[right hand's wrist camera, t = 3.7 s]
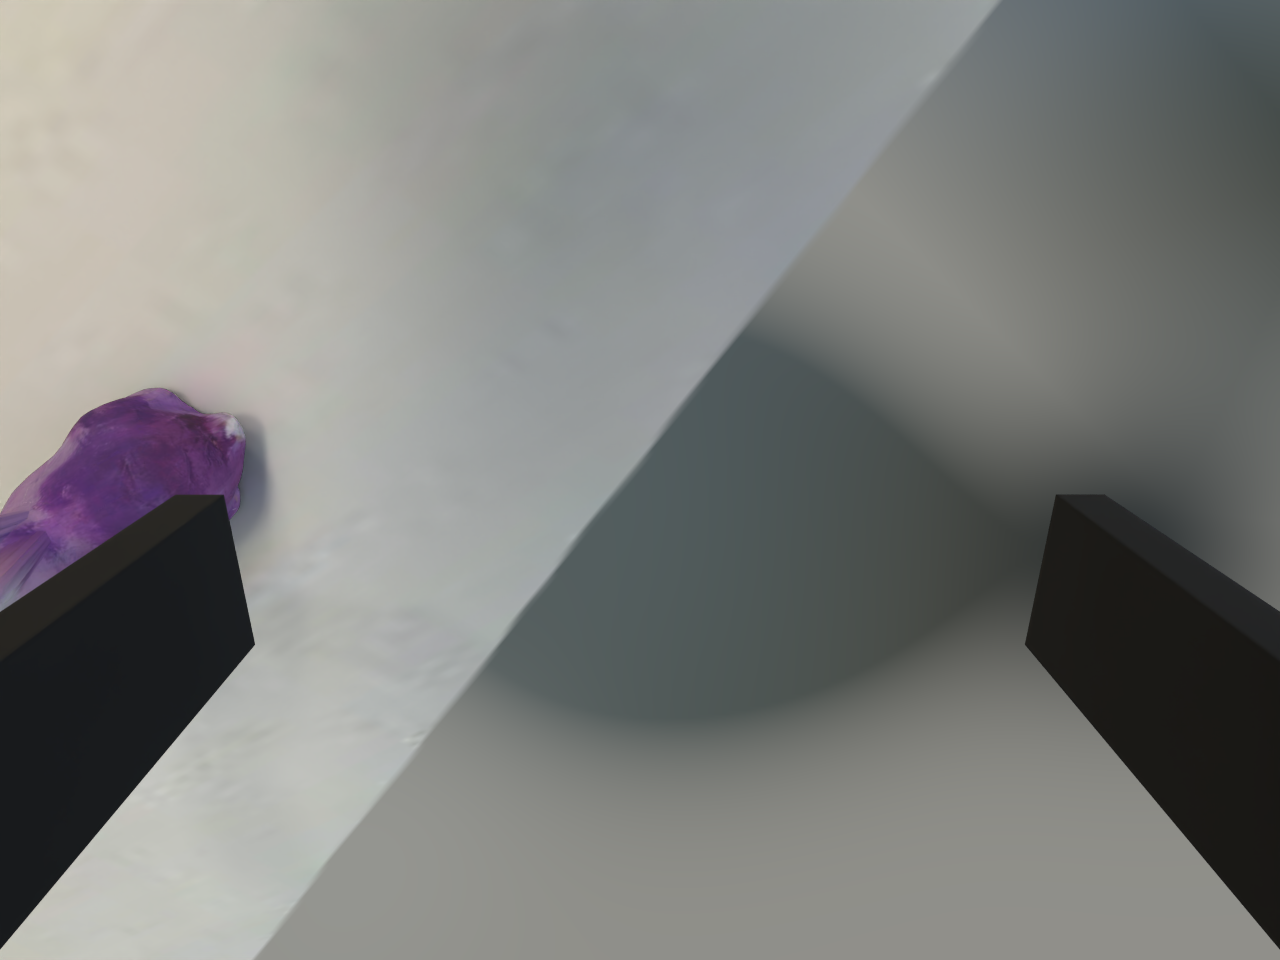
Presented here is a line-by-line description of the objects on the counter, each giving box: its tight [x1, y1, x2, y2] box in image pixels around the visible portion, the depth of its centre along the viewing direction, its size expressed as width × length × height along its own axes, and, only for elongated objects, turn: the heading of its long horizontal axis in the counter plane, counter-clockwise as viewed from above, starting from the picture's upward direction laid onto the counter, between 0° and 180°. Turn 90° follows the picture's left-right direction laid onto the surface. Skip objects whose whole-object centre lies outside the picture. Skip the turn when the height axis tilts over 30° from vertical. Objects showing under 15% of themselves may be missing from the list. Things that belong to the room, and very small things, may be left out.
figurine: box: [0, 388, 246, 612], centre depth 35 cm, size 9×10×15 cm
